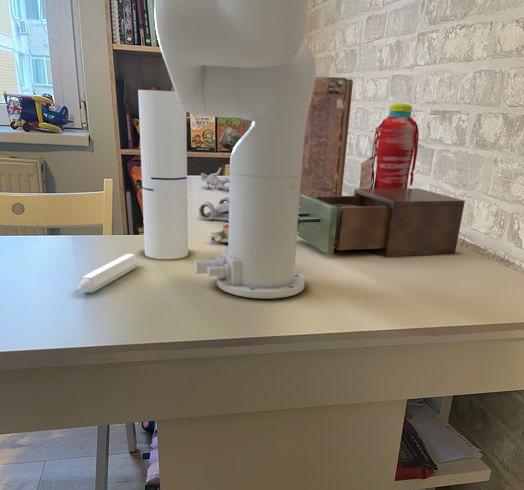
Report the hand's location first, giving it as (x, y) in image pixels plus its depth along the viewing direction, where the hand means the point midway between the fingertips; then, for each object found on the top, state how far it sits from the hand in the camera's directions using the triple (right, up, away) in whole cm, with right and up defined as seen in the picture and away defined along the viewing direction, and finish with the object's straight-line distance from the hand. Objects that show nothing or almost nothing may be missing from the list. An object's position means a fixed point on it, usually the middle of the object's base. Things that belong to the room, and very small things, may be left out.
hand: (274, 144), depth 92 cm
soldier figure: (-15, +14, +73) cm, 76 cm away
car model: (-4, -6, +31) cm, 32 cm away
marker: (-24, -24, -13) cm, 37 cm away
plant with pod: (-6, -14, +13) cm, 20 cm away
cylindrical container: (-18, -18, +3) cm, 26 cm away
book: (+6, +5, +57) cm, 57 cm away
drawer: (+11, -14, +11) cm, 21 cm away
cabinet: (+25, -14, +16) cm, 32 cm away
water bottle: (+24, -7, +32) cm, 40 cm away
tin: (+13, -13, +11) cm, 21 cm away
